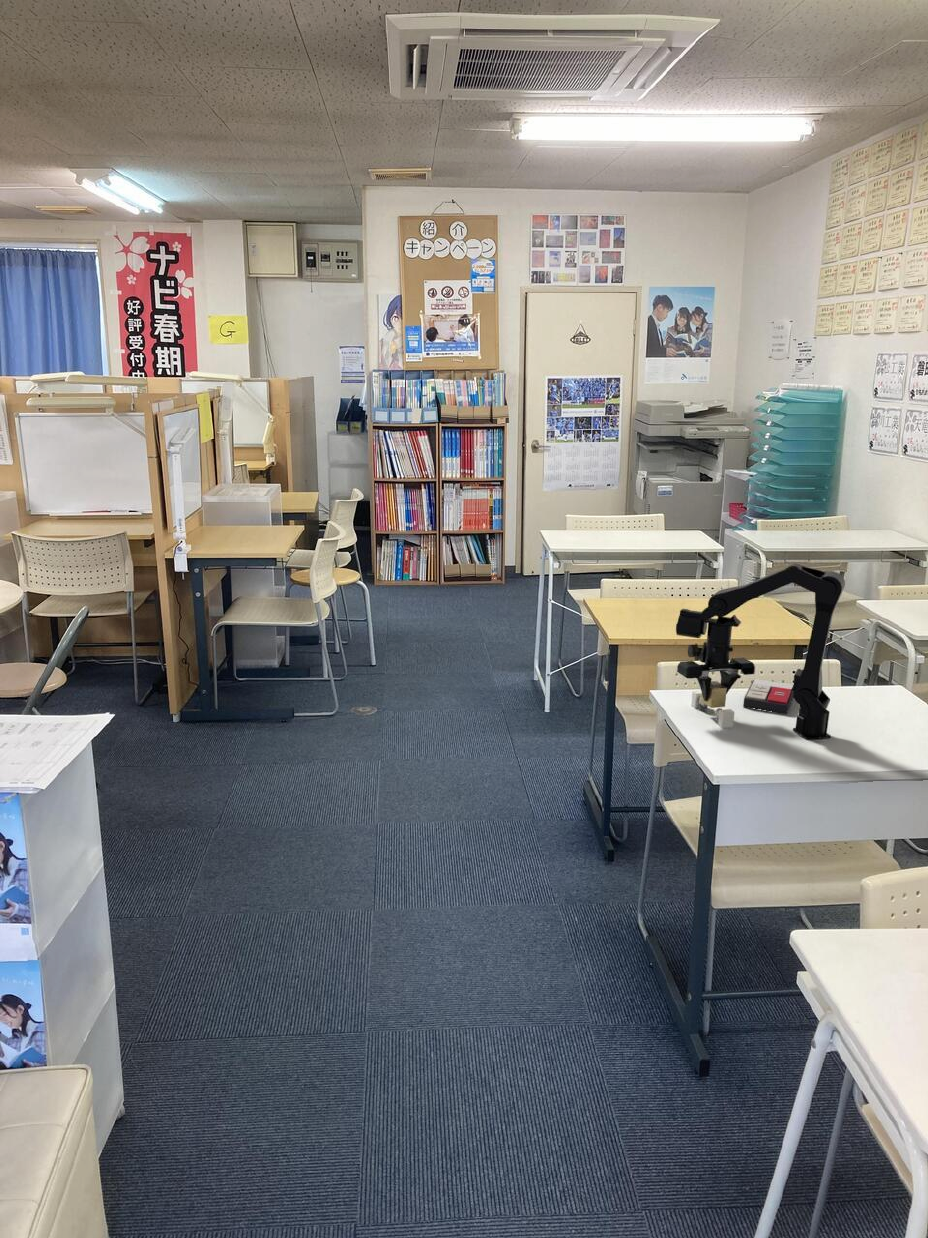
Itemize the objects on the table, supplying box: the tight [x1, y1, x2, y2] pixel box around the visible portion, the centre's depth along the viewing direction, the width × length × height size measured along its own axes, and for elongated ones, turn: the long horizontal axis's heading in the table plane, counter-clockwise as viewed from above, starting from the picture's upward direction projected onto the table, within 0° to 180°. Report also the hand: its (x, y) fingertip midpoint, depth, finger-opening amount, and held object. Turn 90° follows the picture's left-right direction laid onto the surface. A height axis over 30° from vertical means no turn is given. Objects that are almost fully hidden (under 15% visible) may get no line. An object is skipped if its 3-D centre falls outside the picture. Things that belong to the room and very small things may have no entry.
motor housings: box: [691, 690, 735, 729], centre depth 233 cm, size 3×16×4 cm, turn 14°
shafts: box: [697, 696, 724, 724], centre depth 233 cm, size 2×12×3 cm, turn 14°
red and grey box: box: [743, 678, 795, 715], centre depth 244 cm, size 11×4×15 cm
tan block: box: [701, 680, 727, 709], centre depth 232 cm, size 4×5×6 cm
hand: (713, 700), depth 233 cm, fingers closed on tan block, 4 cm apart
